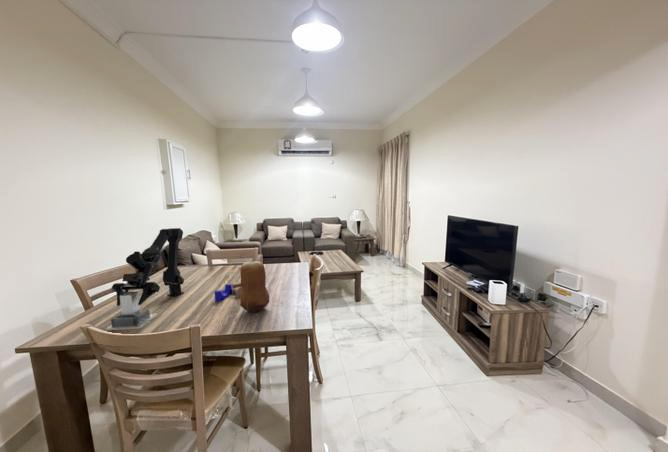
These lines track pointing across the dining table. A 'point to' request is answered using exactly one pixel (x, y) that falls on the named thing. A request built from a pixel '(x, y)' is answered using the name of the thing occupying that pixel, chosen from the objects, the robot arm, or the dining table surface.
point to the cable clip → (223, 293)
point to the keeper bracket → (131, 321)
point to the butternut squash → (253, 287)
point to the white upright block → (130, 304)
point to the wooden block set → (236, 289)
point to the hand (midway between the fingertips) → (128, 305)
